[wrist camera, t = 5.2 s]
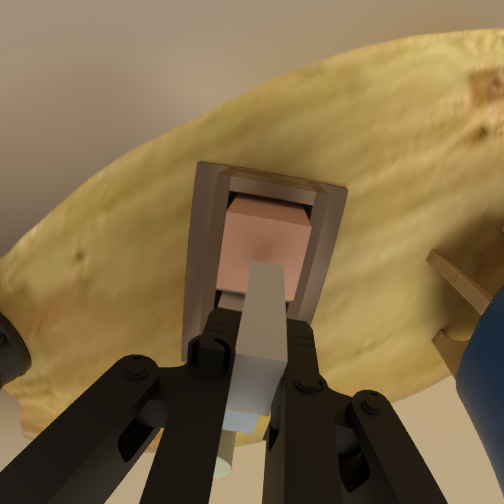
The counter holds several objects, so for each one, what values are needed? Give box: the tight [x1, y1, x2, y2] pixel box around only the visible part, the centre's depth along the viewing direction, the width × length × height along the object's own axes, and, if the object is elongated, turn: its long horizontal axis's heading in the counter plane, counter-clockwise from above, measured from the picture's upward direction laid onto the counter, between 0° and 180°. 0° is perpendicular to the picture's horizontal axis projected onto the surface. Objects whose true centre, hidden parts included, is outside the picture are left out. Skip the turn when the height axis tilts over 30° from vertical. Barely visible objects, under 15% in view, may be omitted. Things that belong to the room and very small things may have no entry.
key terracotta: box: [216, 192, 312, 301], centre depth 21 cm, size 5×5×6 cm
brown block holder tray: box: [182, 162, 348, 363], centre depth 28 cm, size 14×24×7 cm, turn 171°
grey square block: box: [222, 410, 259, 434], centre depth 27 cm, size 5×5×6 cm
